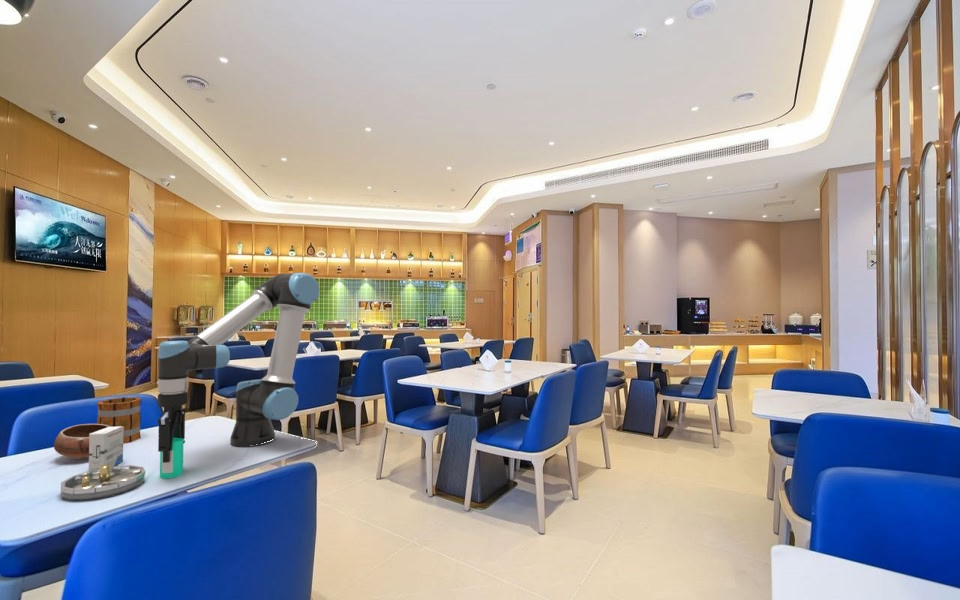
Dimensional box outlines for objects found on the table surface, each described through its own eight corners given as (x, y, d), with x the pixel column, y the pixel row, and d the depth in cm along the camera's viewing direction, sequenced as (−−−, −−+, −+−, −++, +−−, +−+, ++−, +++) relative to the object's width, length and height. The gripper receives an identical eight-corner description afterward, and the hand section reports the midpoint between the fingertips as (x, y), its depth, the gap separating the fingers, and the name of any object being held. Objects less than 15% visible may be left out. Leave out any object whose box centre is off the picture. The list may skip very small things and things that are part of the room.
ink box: (107, 462, 148) (108, 425, 148) (124, 461, 148) (124, 425, 148) (87, 471, 139) (88, 433, 139) (104, 471, 140) (105, 433, 140)
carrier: (155, 473, 138) (156, 453, 138) (123, 498, 120) (124, 475, 121) (86, 478, 134) (87, 457, 134) (43, 504, 116) (43, 480, 117)
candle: (171, 479, 134) (172, 438, 134) (154, 477, 135) (155, 437, 135) (188, 472, 140) (188, 432, 140) (171, 470, 141) (172, 431, 141)
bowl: (72, 467, 143) (73, 435, 143) (42, 461, 148) (43, 430, 148) (126, 452, 157) (126, 423, 157) (97, 447, 163) (97, 419, 163)
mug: (136, 443, 168) (137, 402, 168) (90, 447, 162) (90, 405, 163) (148, 429, 186) (149, 393, 186) (107, 433, 180) (107, 395, 180)
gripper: (171, 387, 145) (170, 460, 145) (144, 398, 128) (142, 481, 128) (197, 386, 147) (196, 458, 147) (174, 397, 130) (172, 479, 129)
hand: (171, 469), depth 137 cm, fingers closed on candle, 5 cm apart
